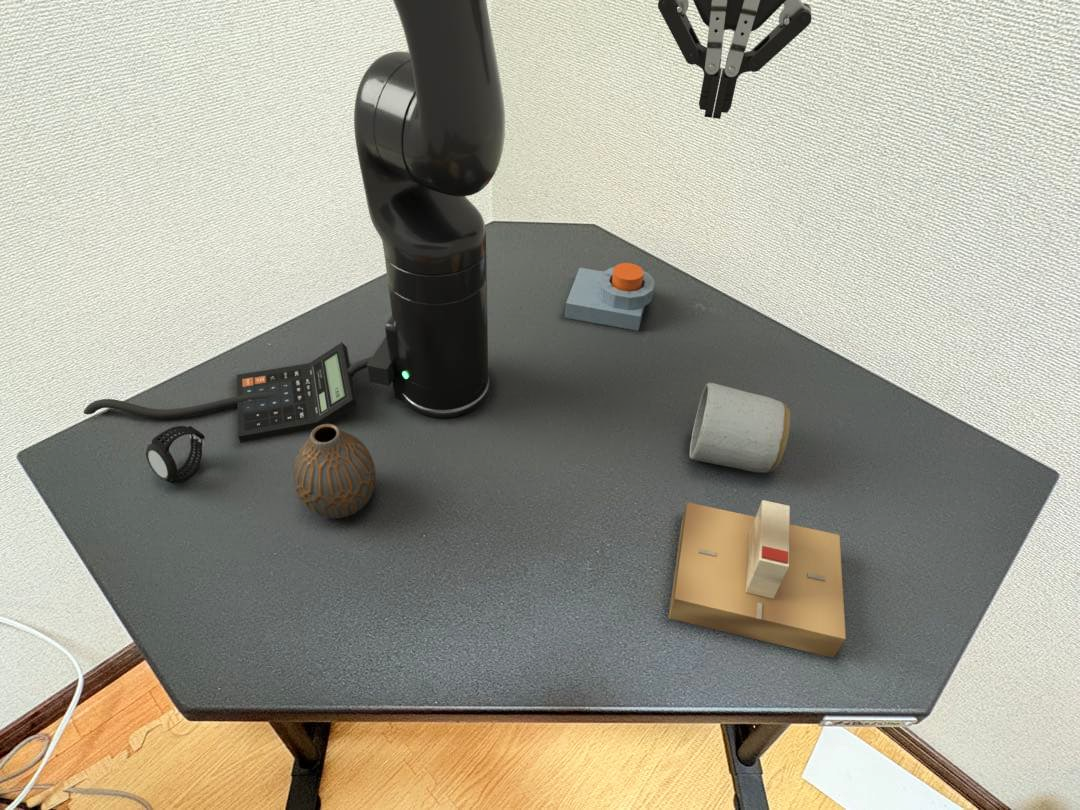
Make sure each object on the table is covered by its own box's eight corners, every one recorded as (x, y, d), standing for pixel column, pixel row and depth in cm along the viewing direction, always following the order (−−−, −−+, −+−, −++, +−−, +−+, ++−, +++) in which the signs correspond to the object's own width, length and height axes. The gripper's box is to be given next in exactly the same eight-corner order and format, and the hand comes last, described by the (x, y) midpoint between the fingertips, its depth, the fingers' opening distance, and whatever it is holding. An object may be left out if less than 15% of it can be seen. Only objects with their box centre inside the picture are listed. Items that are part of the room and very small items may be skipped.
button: (609, 289, 86) (610, 276, 85) (614, 273, 88) (616, 260, 87) (639, 294, 85) (641, 282, 84) (643, 278, 88) (645, 265, 87)
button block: (564, 317, 88) (566, 290, 85) (578, 281, 93) (580, 254, 91) (644, 332, 86) (649, 304, 83) (653, 294, 92) (658, 267, 89)
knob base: (668, 619, 59) (674, 598, 57) (681, 521, 66) (687, 499, 64) (833, 659, 57) (846, 639, 55) (828, 554, 64) (840, 532, 62)
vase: (295, 483, 67) (275, 416, 61) (369, 463, 70) (357, 396, 64) (309, 540, 63) (289, 474, 57) (387, 517, 65) (376, 450, 59)
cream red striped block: (749, 533, 62) (763, 497, 58) (775, 539, 61) (791, 503, 58) (745, 592, 57) (759, 558, 54) (773, 599, 57) (790, 564, 54)
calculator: (238, 380, 77) (231, 359, 75) (349, 362, 80) (345, 341, 78) (240, 442, 71) (232, 420, 69) (360, 420, 74) (356, 399, 72)
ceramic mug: (773, 491, 69) (795, 434, 64) (686, 475, 70) (702, 417, 65) (771, 417, 77) (791, 360, 71) (693, 403, 78) (707, 346, 72)
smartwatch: (153, 470, 68) (134, 433, 65) (209, 449, 70) (194, 412, 67) (164, 499, 66) (145, 462, 62) (222, 476, 68) (207, 439, 64)
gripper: (849, -119, 55) (787, 109, 67) (676, -134, 57) (646, 90, 69) (855, -103, 50) (787, 142, 62) (664, -119, 52) (634, 121, 64)
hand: (712, 114), depth 66 cm, fingers closed
